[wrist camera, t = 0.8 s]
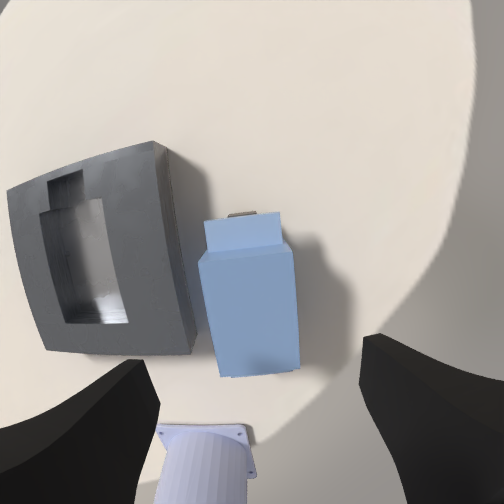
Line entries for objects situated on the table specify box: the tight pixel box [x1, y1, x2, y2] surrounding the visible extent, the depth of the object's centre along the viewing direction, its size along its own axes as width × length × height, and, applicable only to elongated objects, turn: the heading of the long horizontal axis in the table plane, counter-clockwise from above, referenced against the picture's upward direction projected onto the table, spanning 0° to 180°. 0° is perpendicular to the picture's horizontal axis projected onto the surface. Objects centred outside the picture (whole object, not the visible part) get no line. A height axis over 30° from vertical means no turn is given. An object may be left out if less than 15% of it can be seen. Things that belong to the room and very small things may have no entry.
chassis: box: [7, 141, 197, 355], centre depth 15 cm, size 12×12×2 cm
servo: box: [198, 211, 300, 378], centre depth 15 cm, size 9×4×5 cm, turn 7°
